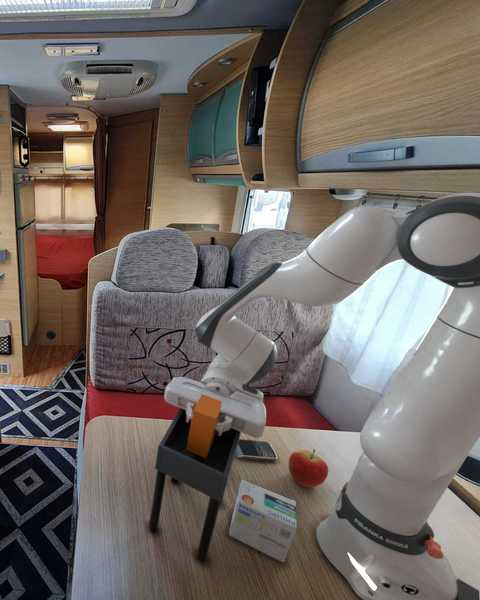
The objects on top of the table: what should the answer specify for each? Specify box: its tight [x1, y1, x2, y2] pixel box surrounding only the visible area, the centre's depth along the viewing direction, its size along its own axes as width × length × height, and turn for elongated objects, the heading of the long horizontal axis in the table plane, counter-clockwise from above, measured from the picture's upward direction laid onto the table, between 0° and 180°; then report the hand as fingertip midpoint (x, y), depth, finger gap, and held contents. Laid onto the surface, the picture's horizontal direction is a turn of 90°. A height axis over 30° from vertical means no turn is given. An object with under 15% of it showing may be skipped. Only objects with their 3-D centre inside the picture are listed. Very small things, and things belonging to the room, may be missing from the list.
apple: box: [288, 448, 329, 488], centre depth 82 cm, size 8×8×10 cm
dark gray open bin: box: [154, 408, 242, 503], centre depth 67 cm, size 13×17×6 cm
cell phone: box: [235, 438, 278, 462], centre depth 92 cm, size 6×11×1 cm, turn 84°
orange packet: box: [186, 394, 222, 459], centre depth 65 cm, size 4×6×10 cm, turn 146°
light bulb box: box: [228, 478, 298, 564], centre depth 69 cm, size 11×7×11 cm, turn 59°
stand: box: [148, 470, 227, 563], centre depth 72 cm, size 12×16×18 cm
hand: (203, 426), depth 65 cm, fingers closed on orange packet, 4 cm apart
